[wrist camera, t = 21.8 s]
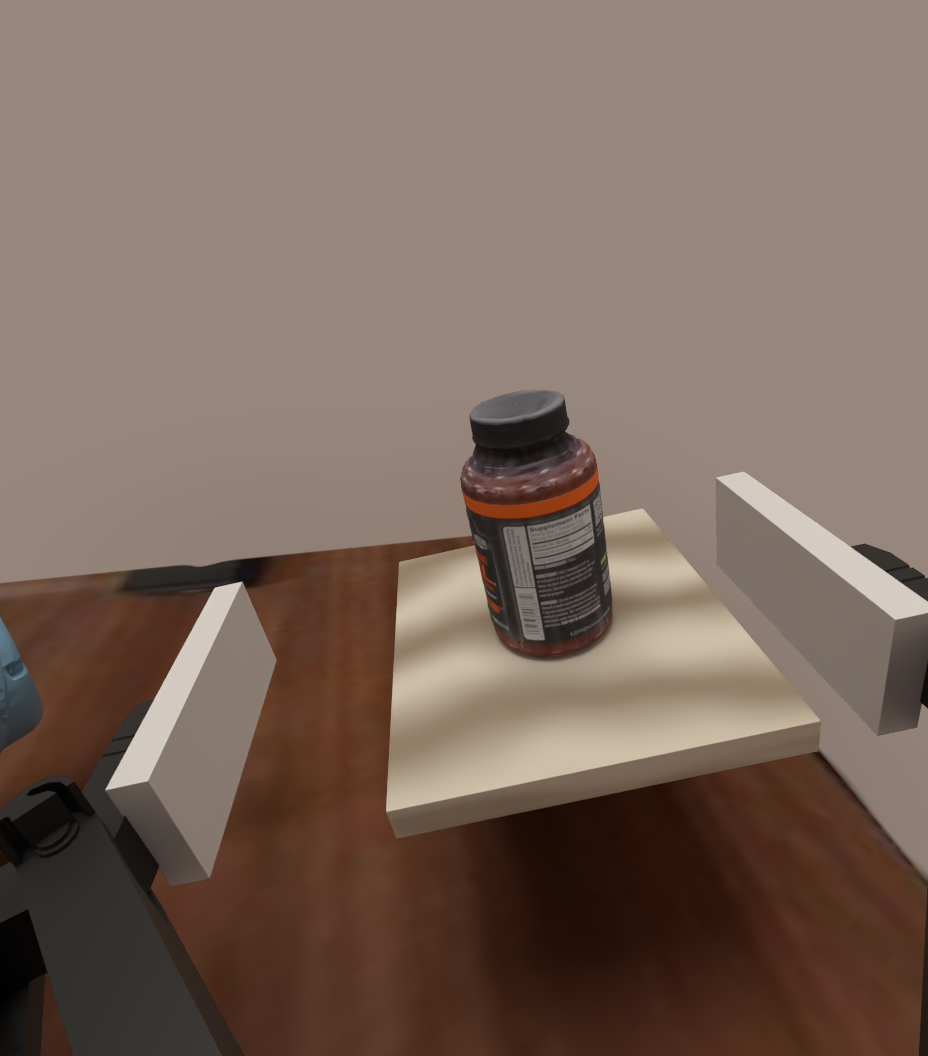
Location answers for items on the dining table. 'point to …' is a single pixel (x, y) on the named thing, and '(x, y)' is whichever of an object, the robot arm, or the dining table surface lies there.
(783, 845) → the dining table surface
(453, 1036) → the dining table surface
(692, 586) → the cream l-shaped stand
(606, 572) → the supplement bottle
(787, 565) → the robot arm
